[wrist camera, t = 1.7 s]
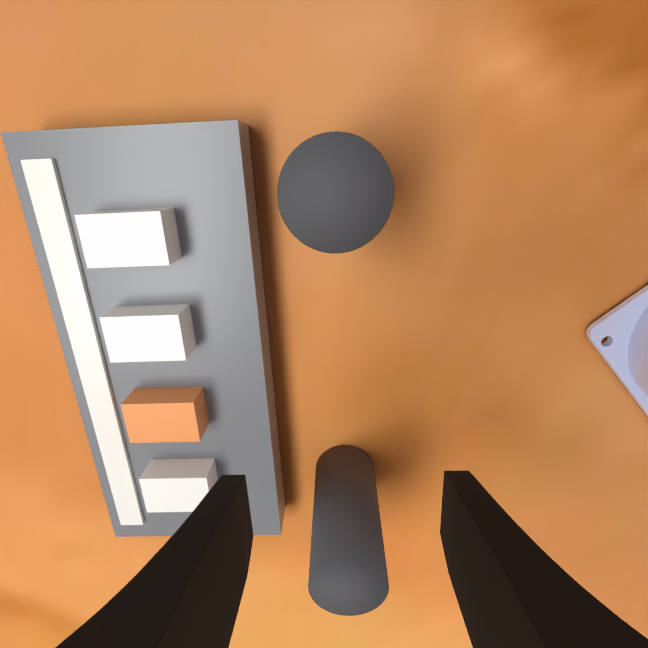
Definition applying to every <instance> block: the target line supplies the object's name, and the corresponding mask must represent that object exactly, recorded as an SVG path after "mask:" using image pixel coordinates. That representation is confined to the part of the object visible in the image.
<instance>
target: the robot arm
mask: <svg viewBox="0 0 648 648" xmlns="http://www.w3.org/2000/svg"><path fill="white" fill-rule="evenodd" d="M586 335H587V338H588V339H589V340H590V342H591V343H592V344H593V346H594V347H595V348H596V350H597V351H598V352H599V354H600V355H601V356H602V357H603V359H604V360H605V361H606V363H607V364H608V365H609V367H610V368H611V369H612V371H613V372H614V373H615V374H616V376H617V377H618V378H619V380H620V381H621V382H622V384H623V385H624V386H625V388H626V389H627V390H628V392H629V393H630V394H631V395H632V397H633V398H634V399H635V401H636V402H637V403H638V405H639V406H640V407H641V409H642V410H643V411H644V412H645V414H646V415H647V416H648V285H646V286H645V287H644V288H642V289H641V290H639V291H638V292H636V293H635V294H634V295H632V296H631V297H629V298H628V299H626V300H625V301H623V302H622V303H621V304H619V305H618V306H616V307H615V308H613V309H612V310H611V311H609V312H608V313H606V314H605V315H603V316H602V317H601V318H599V319H598V320H596V321H595V322H593V323H592V324H591V325H590V326H589V327H588V328H587V330H586ZM606 336H608V338H607V340H606V341H605V342H604V343H601V341H602V339H603V338H604V337H606ZM440 534H441V539H442V544H443V549H444V553H445V558H446V563H447V567H448V572H449V575H450V579H451V582H452V585H453V588H454V591H455V594H456V597H457V600H458V603H459V607H460V610H461V613H462V616H463V619H464V622H465V625H466V628H467V631H468V634H469V637H470V640H471V643H472V646H473V648H648V639H647V638H646V637H644V636H643V635H642V634H640V633H639V632H638V631H636V630H635V629H633V628H632V627H631V626H630V625H628V624H627V623H626V622H624V621H623V620H622V619H621V618H619V617H618V616H617V615H615V614H614V613H613V612H612V611H611V610H609V609H608V608H607V607H606V606H605V605H603V604H602V603H601V602H600V601H599V600H597V599H596V598H595V597H594V596H593V595H591V594H590V593H589V592H588V591H587V590H585V589H584V588H583V587H582V586H581V585H580V584H578V583H577V582H576V581H575V580H574V579H573V578H572V577H571V576H569V575H568V574H567V573H566V572H565V571H564V570H563V569H562V568H561V567H560V566H559V565H558V564H557V563H556V562H554V561H553V560H552V559H551V558H550V557H549V556H548V555H547V554H546V553H545V552H544V551H543V550H542V549H541V548H540V547H539V546H538V545H537V544H536V543H535V542H534V541H533V540H532V539H531V538H530V537H529V536H528V535H527V534H526V533H525V532H524V531H523V530H522V529H521V528H520V527H519V526H518V525H517V524H516V523H515V522H514V520H513V519H512V518H511V517H510V516H509V515H508V514H507V513H506V512H505V511H504V510H503V509H502V507H501V506H500V505H499V504H498V503H497V502H496V501H495V500H494V499H493V497H492V496H491V495H490V494H489V493H488V492H487V491H486V490H485V488H484V487H483V486H482V485H481V484H480V483H479V481H478V480H477V479H476V478H475V477H474V476H473V475H472V474H471V473H470V472H469V471H444V482H443V497H442V512H441V527H440ZM252 541H253V528H252V521H251V513H250V506H249V498H248V491H247V483H246V476H245V475H222V476H221V477H220V478H219V479H218V480H217V481H216V483H215V484H214V485H213V487H212V488H211V489H210V490H209V492H208V493H207V494H206V496H205V497H204V498H203V499H202V501H201V502H200V503H199V504H198V506H197V507H196V508H195V509H194V510H193V512H192V513H191V514H190V515H189V517H188V518H187V519H186V520H185V521H184V523H183V524H182V525H181V526H180V527H179V528H178V530H177V531H176V532H175V533H174V534H173V535H172V537H171V538H170V539H169V540H168V541H167V542H166V543H165V545H164V546H163V547H162V548H161V549H160V550H159V551H158V552H157V553H156V554H155V555H154V556H153V558H152V559H151V560H150V561H149V562H148V563H147V564H146V565H145V566H144V567H143V568H142V569H141V570H140V571H139V573H138V574H137V575H136V576H135V577H134V578H133V579H132V580H131V581H130V582H129V583H128V584H127V585H126V586H125V587H124V588H123V589H121V590H120V591H119V592H118V593H117V594H116V595H115V596H114V597H113V598H112V599H111V600H110V601H109V602H108V603H107V604H106V605H105V606H103V607H102V608H101V609H100V610H99V611H98V612H97V613H96V614H95V615H93V616H92V617H91V618H90V619H89V620H88V621H87V622H85V623H84V624H83V625H82V626H81V627H80V628H78V629H77V630H76V631H75V632H74V633H72V634H71V635H70V636H69V637H68V638H66V639H65V640H64V641H63V642H62V643H61V644H59V645H58V646H57V647H56V648H228V647H229V643H230V639H231V636H232V632H233V628H234V624H235V621H236V617H237V613H238V609H239V605H240V602H241V598H242V594H243V590H244V586H245V582H246V578H247V574H248V567H249V561H250V555H251V548H252Z"/></svg>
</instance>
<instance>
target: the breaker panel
mask: <svg viewBox="0 0 648 648" xmlns="http://www.w3.org/2000/svg"><path fill="white" fill-rule="evenodd" d="M1 135H2V139H3V142H4V146H5V149H6V153H7V156H8V160H9V163H10V167H11V170H12V174H13V177H14V181H15V184H16V188H17V191H18V195H19V198H20V202H21V205H22V209H23V212H24V216H25V220H26V223H27V227H28V230H29V234H30V237H31V241H32V244H33V248H34V251H35V255H36V258H37V262H38V265H39V269H40V272H41V276H42V279H43V283H44V286H45V290H46V293H47V297H48V300H49V304H50V307H51V311H52V314H53V318H54V321H55V325H56V329H57V332H58V336H59V339H60V343H61V346H62V350H63V353H64V357H65V360H66V364H67V367H68V371H69V374H70V378H71V381H72V385H73V388H74V392H75V395H76V399H77V402H78V406H79V409H80V413H81V416H82V420H83V423H84V427H85V430H86V434H87V437H88V441H89V445H90V448H91V452H92V455H93V459H94V462H95V466H96V469H97V473H98V476H99V480H100V483H101V487H102V490H103V494H104V497H105V501H106V504H107V508H108V511H109V515H110V518H111V522H112V525H113V529H114V532H115V536H116V537H128V536H172V535H173V534H174V533H175V532H176V531H177V530H178V528H179V527H180V526H181V525H182V524H183V523H184V521H185V520H186V519H187V518H188V517H189V515H190V514H191V513H192V512H193V510H194V509H195V508H196V507H197V506H198V504H199V503H200V502H201V501H202V499H203V498H204V497H205V496H206V494H207V493H208V492H209V490H210V489H211V488H212V487H213V485H214V484H215V483H216V481H217V480H218V479H219V478H220V477H221V476H222V475H245V476H246V483H247V491H248V498H249V506H250V513H251V521H252V528H253V535H281V532H282V525H283V518H284V512H285V498H284V488H283V477H282V467H281V457H280V447H279V436H278V426H277V416H276V405H275V395H274V385H273V374H272V364H271V354H270V344H269V333H268V323H267V313H266V302H265V292H264V282H263V271H262V261H261V251H260V241H259V230H258V220H257V210H256V199H255V189H254V179H253V168H252V158H251V148H250V138H249V127H248V124H245V123H243V122H241V121H239V120H226V121H207V122H188V123H168V124H149V125H130V126H111V127H92V128H72V129H53V130H34V131H15V132H1Z"/></svg>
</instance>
